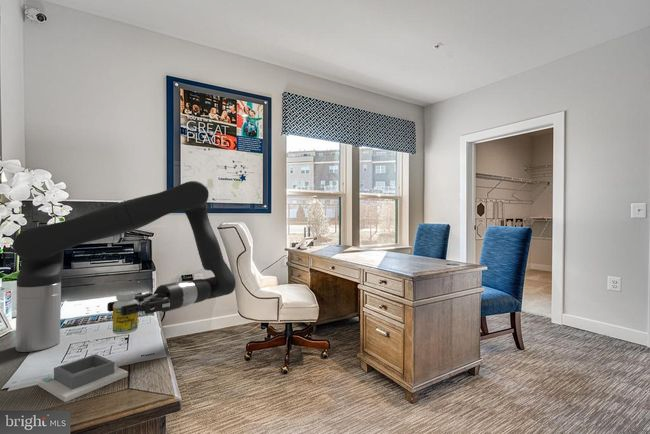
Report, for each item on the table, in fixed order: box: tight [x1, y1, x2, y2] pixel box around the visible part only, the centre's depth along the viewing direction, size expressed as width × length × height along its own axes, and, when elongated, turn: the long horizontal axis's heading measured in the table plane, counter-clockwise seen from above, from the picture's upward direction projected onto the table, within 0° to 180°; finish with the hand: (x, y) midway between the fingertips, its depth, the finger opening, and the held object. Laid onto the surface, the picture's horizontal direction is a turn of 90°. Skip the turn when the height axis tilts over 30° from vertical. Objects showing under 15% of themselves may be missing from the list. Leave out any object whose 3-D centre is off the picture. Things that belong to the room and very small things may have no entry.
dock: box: [37, 353, 129, 403], centre depth 71 cm, size 12×12×4 cm
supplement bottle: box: [112, 290, 139, 335], centre depth 80 cm, size 5×5×10 cm
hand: (115, 309), depth 78 cm, fingers closed on supplement bottle, 5 cm apart
